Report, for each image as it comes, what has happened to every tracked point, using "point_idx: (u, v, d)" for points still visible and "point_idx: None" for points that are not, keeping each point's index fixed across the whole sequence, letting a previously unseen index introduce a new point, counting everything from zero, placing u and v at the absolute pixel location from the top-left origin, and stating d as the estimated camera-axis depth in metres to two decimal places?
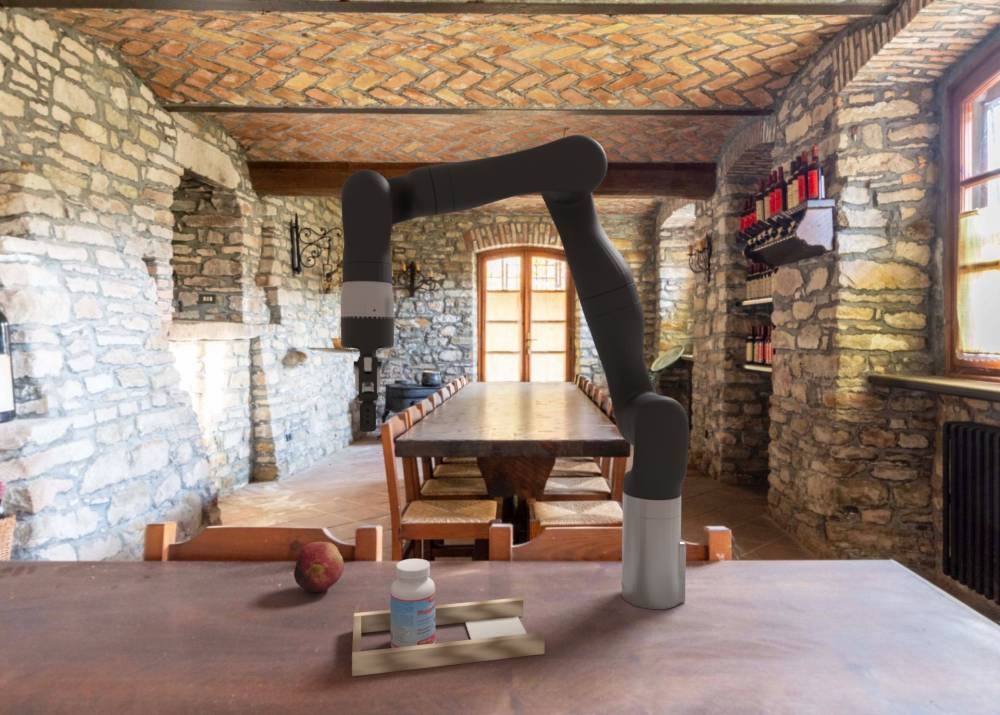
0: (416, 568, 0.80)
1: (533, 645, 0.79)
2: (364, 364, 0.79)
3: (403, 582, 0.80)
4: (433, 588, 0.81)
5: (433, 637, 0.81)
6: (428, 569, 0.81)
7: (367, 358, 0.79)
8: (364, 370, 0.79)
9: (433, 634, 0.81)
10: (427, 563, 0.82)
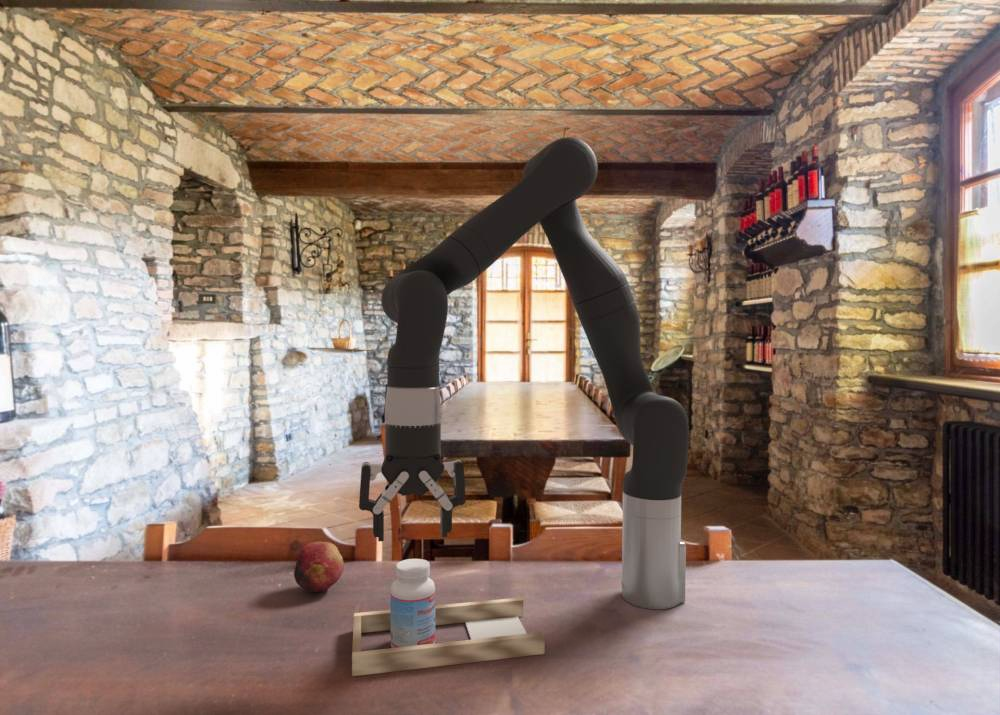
0: (416, 568, 0.80)
1: (533, 645, 0.79)
2: None
3: (403, 582, 0.80)
4: (433, 588, 0.81)
5: (433, 637, 0.81)
6: (428, 569, 0.81)
7: None
8: None
9: (433, 634, 0.81)
10: (427, 563, 0.82)
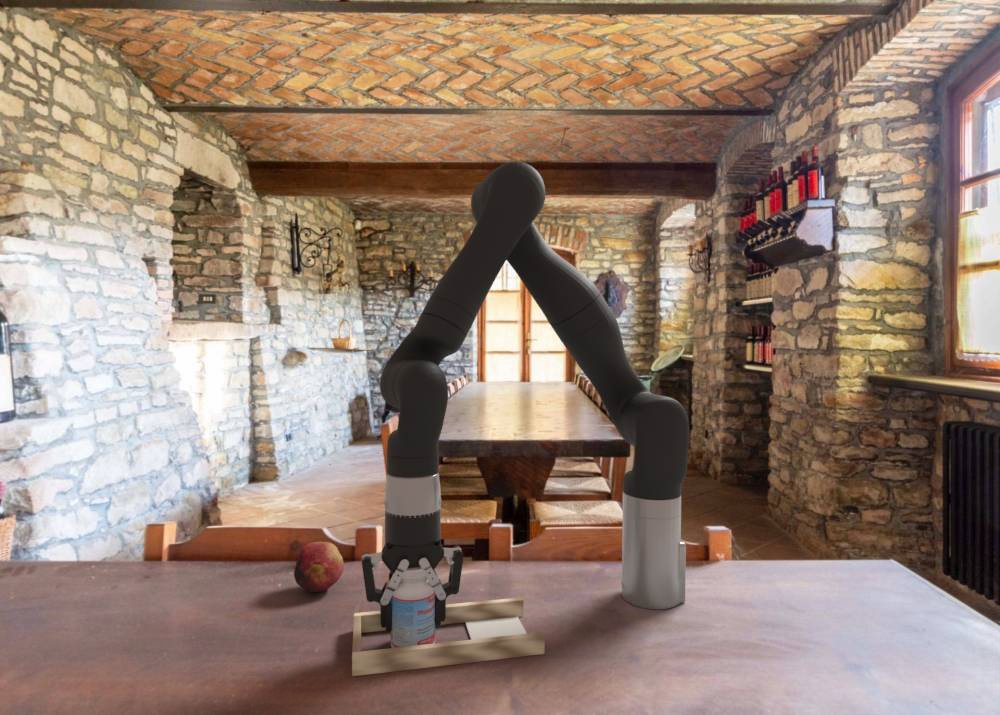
0: (416, 568, 0.80)
1: (533, 645, 0.79)
2: None
3: (403, 582, 0.80)
4: (433, 588, 0.81)
5: (433, 637, 0.81)
6: None
7: (461, 550, 0.83)
8: None
9: (433, 634, 0.81)
10: None
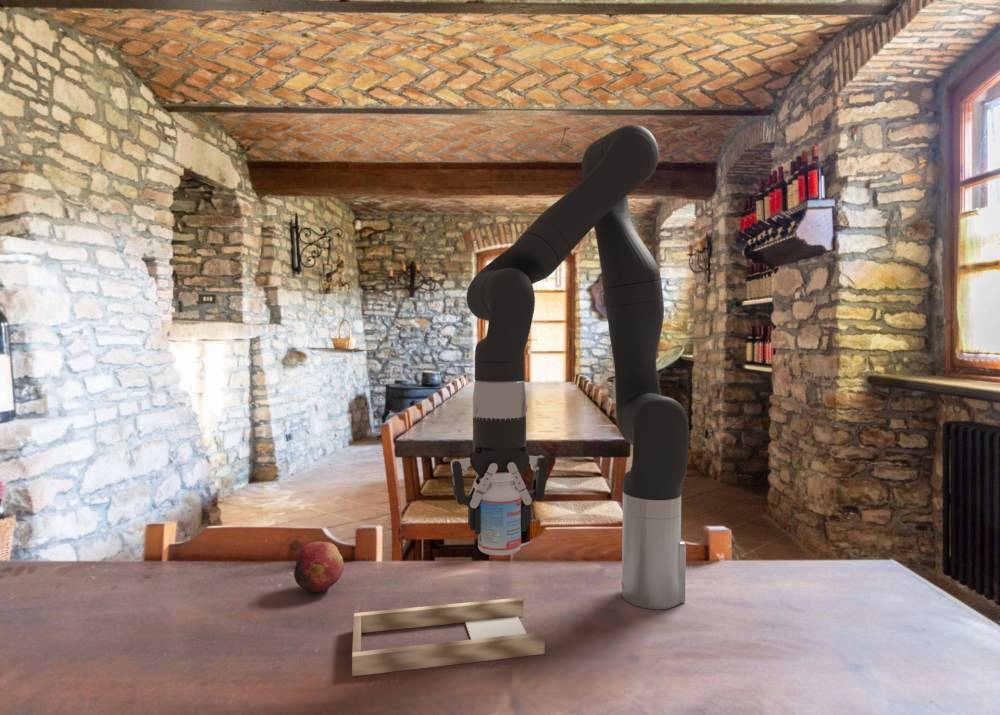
0: (504, 472, 0.82)
1: (533, 645, 0.79)
2: None
3: (492, 486, 0.82)
4: (519, 492, 0.83)
5: (520, 540, 0.83)
6: None
7: None
8: None
9: (520, 537, 0.83)
10: None
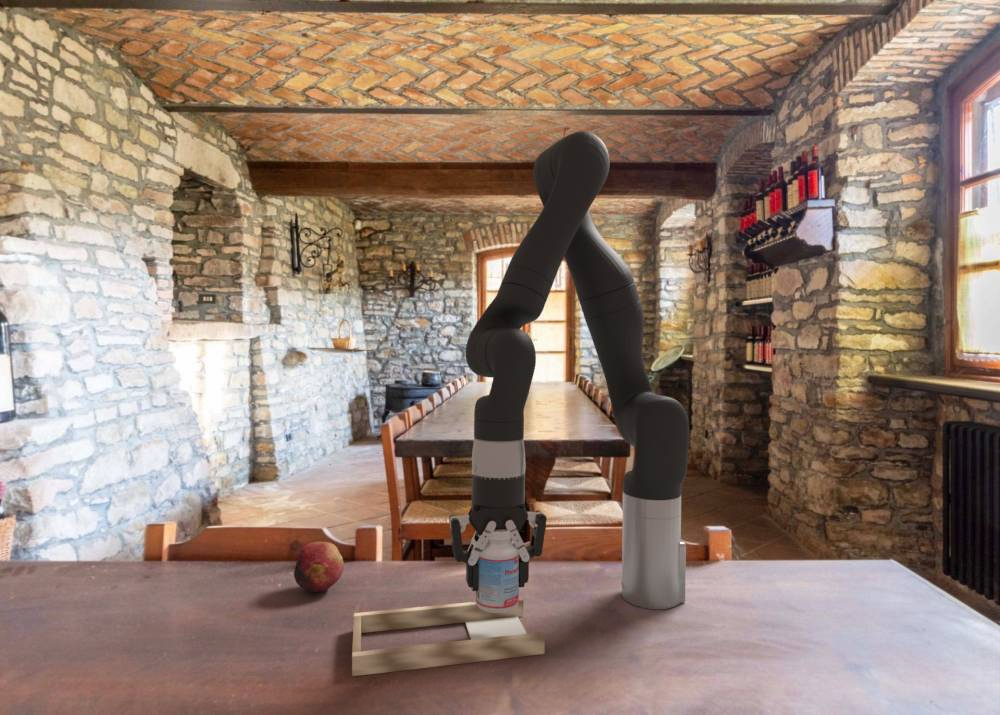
0: (502, 530, 0.82)
1: (533, 645, 0.79)
2: None
3: (490, 543, 0.82)
4: None
5: (517, 597, 0.83)
6: None
7: (543, 514, 0.85)
8: None
9: (517, 594, 0.83)
10: None
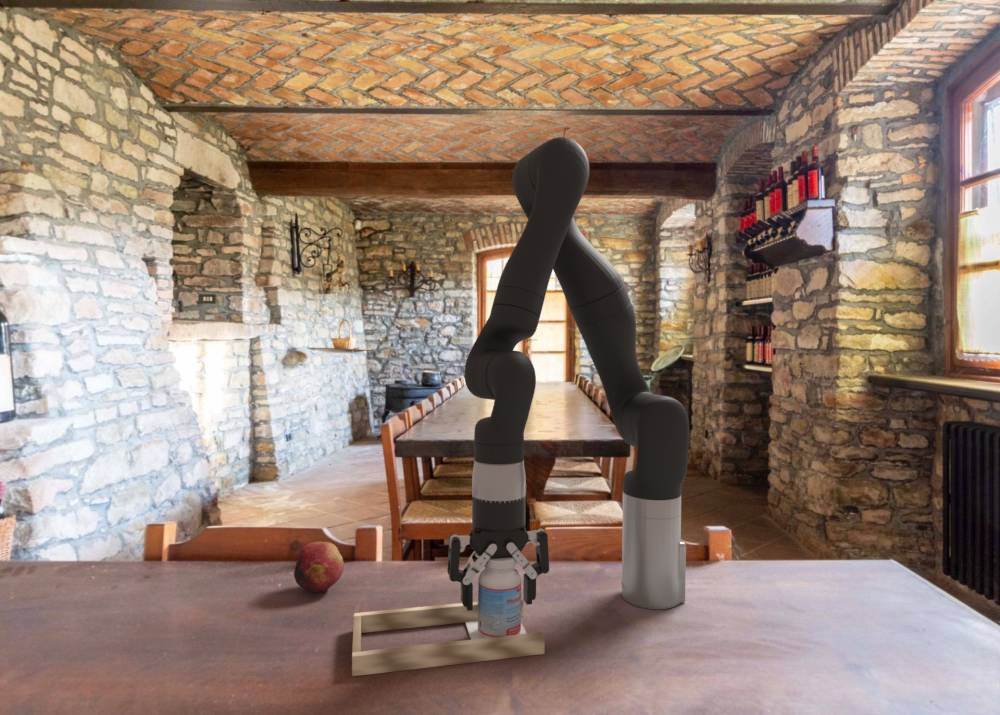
0: (504, 559, 0.82)
1: (533, 645, 0.79)
2: None
3: (492, 572, 0.82)
4: (520, 578, 0.83)
5: (520, 625, 0.83)
6: (515, 560, 0.83)
7: None
8: None
9: (520, 623, 0.83)
10: None
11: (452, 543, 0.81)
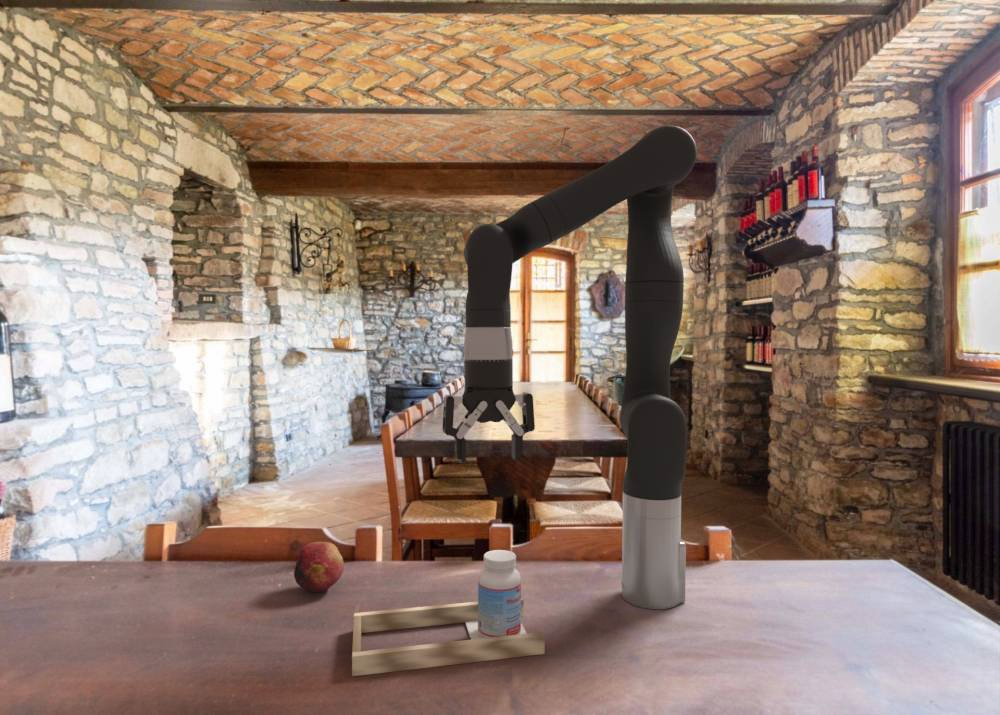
0: (504, 559, 0.82)
1: (533, 645, 0.79)
2: None
3: (492, 572, 0.82)
4: (520, 578, 0.83)
5: (520, 625, 0.83)
6: (515, 560, 0.83)
7: None
8: None
9: (520, 623, 0.83)
10: (513, 554, 0.84)
11: (447, 400, 0.90)
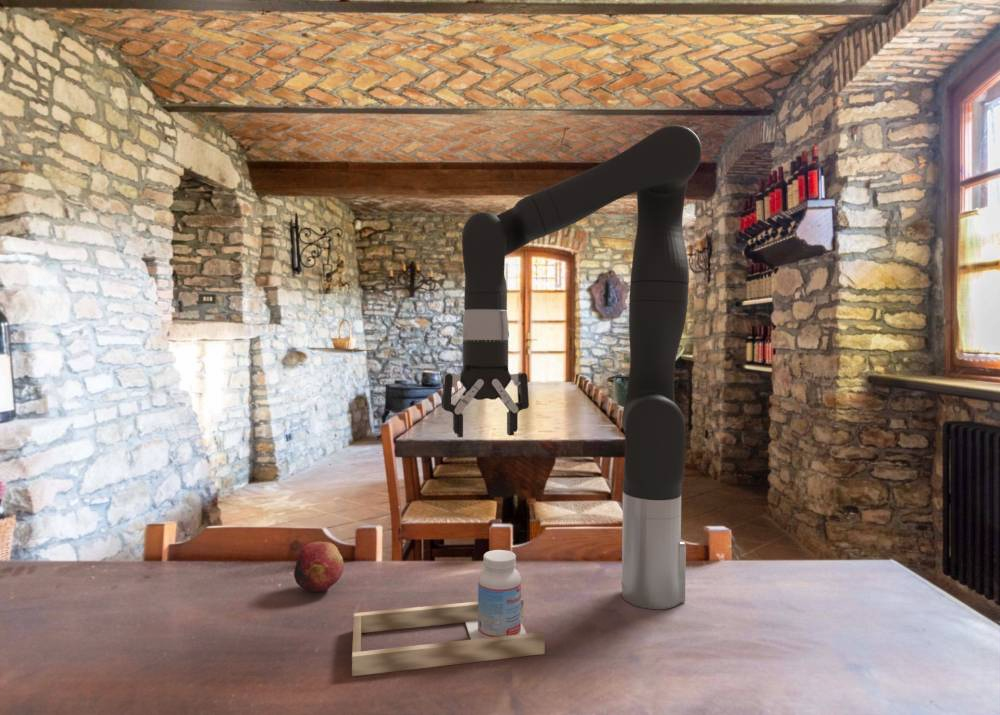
0: (504, 559, 0.82)
1: (533, 645, 0.79)
2: None
3: (492, 572, 0.82)
4: (520, 578, 0.83)
5: (520, 625, 0.83)
6: (515, 560, 0.83)
7: None
8: None
9: (520, 623, 0.83)
10: (513, 554, 0.84)
11: (445, 378, 0.95)
